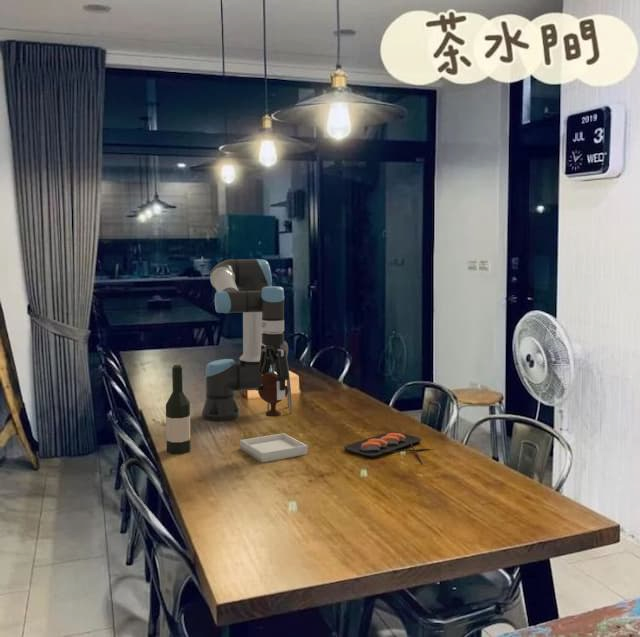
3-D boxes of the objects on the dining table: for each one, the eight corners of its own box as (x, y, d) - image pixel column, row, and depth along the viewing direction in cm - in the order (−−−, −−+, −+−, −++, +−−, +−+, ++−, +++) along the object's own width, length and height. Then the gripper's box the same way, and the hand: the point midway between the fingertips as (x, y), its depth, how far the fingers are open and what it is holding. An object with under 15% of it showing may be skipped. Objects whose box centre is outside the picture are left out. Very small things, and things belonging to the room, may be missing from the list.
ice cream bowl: (285, 419, 226) (285, 375, 224) (253, 417, 228) (252, 373, 226) (292, 411, 236) (292, 369, 234) (262, 410, 238) (261, 368, 236)
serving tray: (240, 448, 236) (240, 440, 236) (283, 441, 245) (283, 433, 245) (261, 462, 222) (261, 453, 221) (307, 454, 230) (307, 445, 230)
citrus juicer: (267, 411, 288) (266, 341, 285) (277, 405, 297) (277, 338, 294) (291, 413, 284) (291, 343, 280) (300, 408, 293) (301, 339, 289)
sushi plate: (393, 435, 255) (393, 425, 254) (461, 453, 234) (461, 442, 233) (340, 452, 234) (340, 441, 234) (409, 473, 213) (409, 462, 213)
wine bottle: (195, 448, 236) (194, 363, 233) (183, 455, 228) (181, 368, 225) (174, 446, 239) (172, 362, 235) (161, 452, 231) (159, 366, 228)
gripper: (248, 329, 237) (248, 390, 239) (278, 337, 217) (279, 404, 219) (267, 327, 240) (267, 388, 243) (299, 335, 221) (299, 401, 223)
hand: (273, 396), depth 231 cm, fingers closed on ice cream bowl, 11 cm apart
